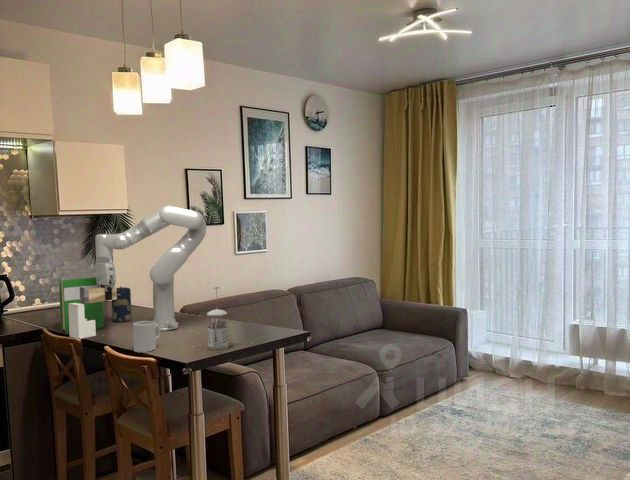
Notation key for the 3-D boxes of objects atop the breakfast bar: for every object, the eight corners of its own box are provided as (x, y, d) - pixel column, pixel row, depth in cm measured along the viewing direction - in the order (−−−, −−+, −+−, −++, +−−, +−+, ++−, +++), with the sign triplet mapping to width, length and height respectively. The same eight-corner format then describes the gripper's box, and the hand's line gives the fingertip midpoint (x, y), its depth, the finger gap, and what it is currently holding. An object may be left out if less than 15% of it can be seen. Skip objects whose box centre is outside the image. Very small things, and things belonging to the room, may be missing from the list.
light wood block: (116, 299, 256) (116, 284, 255) (84, 303, 243) (84, 287, 243) (112, 298, 258) (111, 283, 258) (80, 303, 245) (79, 287, 245)
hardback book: (65, 332, 253) (63, 281, 252) (60, 330, 258) (58, 280, 257) (103, 327, 264) (102, 278, 263) (98, 325, 270) (96, 277, 269)
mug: (144, 353, 211) (143, 325, 210) (129, 351, 215) (128, 323, 214) (167, 346, 221) (166, 320, 221) (152, 344, 225) (151, 318, 225)
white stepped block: (95, 335, 245) (94, 302, 244) (79, 339, 239) (77, 305, 238) (86, 333, 250) (85, 301, 249) (69, 336, 244) (68, 303, 243)
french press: (232, 343, 224) (230, 283, 223) (226, 351, 212) (225, 287, 211) (208, 344, 224) (207, 284, 223) (201, 351, 213) (200, 287, 211)
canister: (134, 319, 283) (133, 285, 283) (126, 322, 274) (125, 287, 273) (117, 319, 284) (116, 285, 284) (108, 322, 275) (107, 287, 274)
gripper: (122, 260, 250) (123, 300, 251) (102, 259, 261) (103, 297, 261) (107, 261, 244) (108, 302, 245) (87, 260, 255) (88, 299, 255)
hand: (105, 299), depth 253 cm, fingers closed on light wood block, 4 cm apart
